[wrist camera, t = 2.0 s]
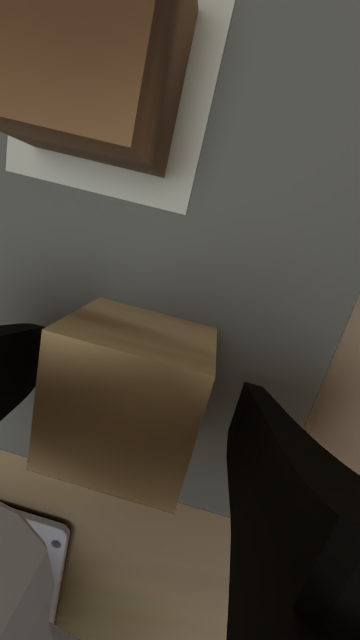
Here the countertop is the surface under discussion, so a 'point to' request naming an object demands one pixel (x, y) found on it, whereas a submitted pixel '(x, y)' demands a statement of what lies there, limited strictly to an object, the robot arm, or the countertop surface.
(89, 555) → the countertop surface
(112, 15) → the walnut block
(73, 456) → the beech block
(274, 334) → the build board
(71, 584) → the countertop surface
